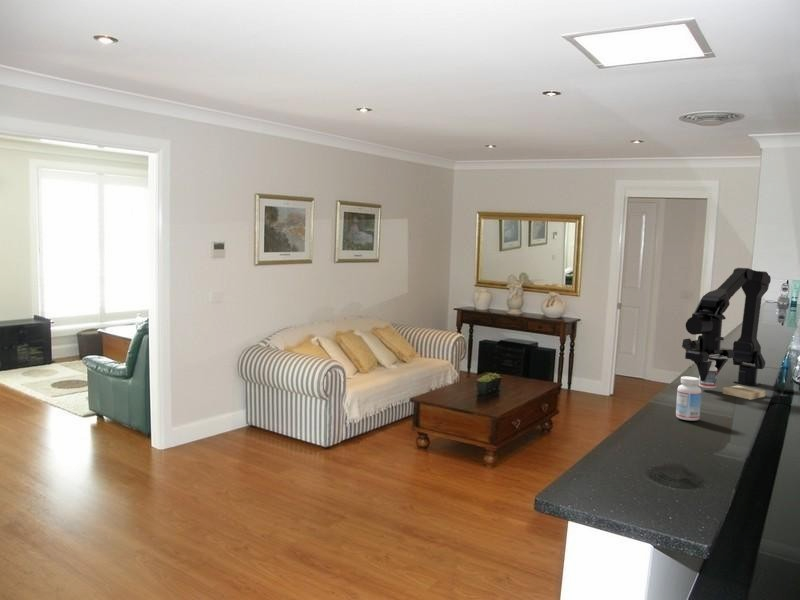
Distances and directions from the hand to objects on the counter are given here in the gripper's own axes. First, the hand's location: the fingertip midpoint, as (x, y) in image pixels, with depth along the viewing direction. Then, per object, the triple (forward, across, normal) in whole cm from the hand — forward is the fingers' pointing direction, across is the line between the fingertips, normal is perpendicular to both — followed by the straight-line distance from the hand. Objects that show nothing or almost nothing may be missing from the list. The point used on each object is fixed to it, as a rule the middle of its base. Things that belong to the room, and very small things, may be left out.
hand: (707, 379), depth 210 cm
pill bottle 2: (+2, 0, 0) cm, 2 cm away
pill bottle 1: (+4, +38, +18) cm, 42 cm away
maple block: (+4, -6, +9) cm, 12 cm away
